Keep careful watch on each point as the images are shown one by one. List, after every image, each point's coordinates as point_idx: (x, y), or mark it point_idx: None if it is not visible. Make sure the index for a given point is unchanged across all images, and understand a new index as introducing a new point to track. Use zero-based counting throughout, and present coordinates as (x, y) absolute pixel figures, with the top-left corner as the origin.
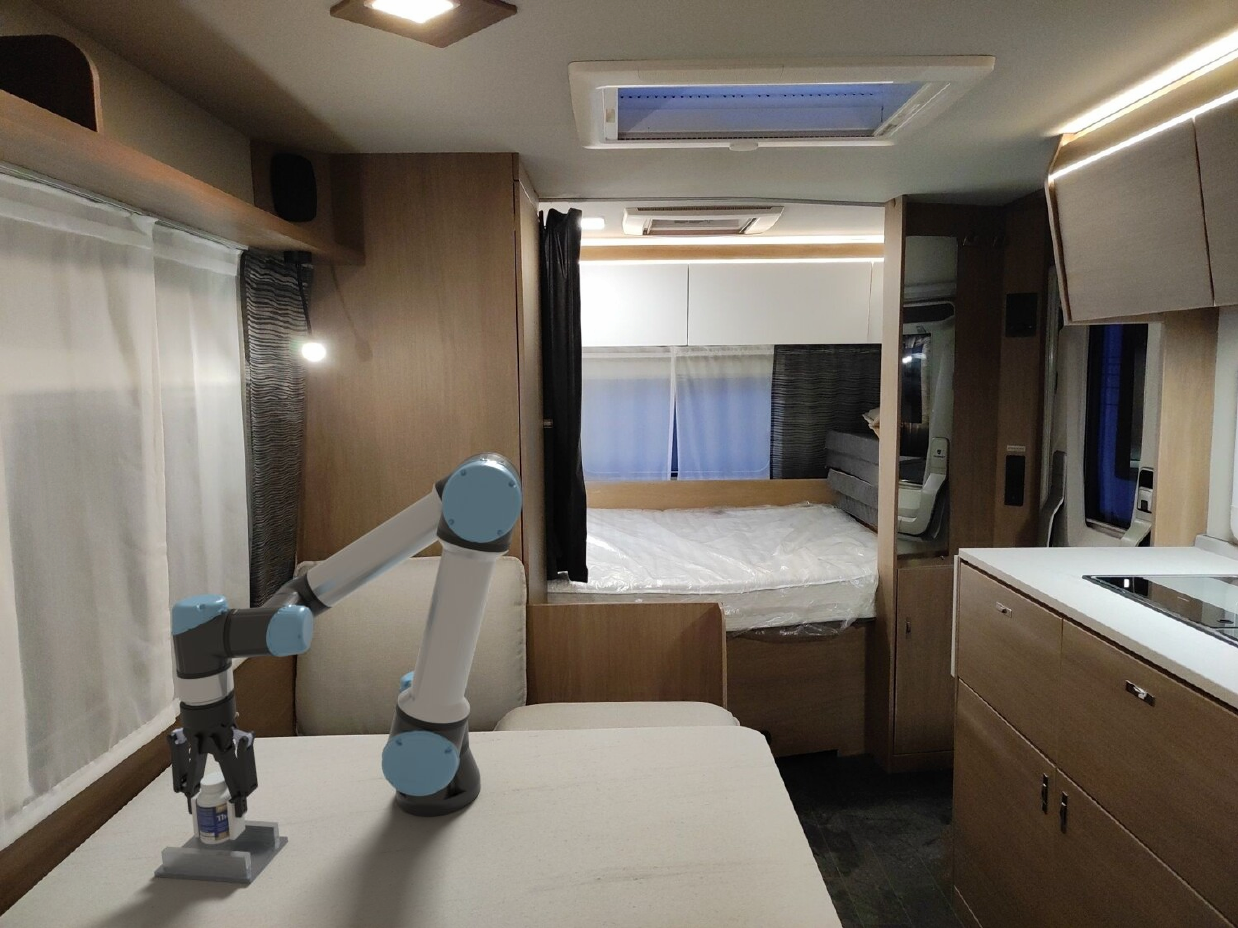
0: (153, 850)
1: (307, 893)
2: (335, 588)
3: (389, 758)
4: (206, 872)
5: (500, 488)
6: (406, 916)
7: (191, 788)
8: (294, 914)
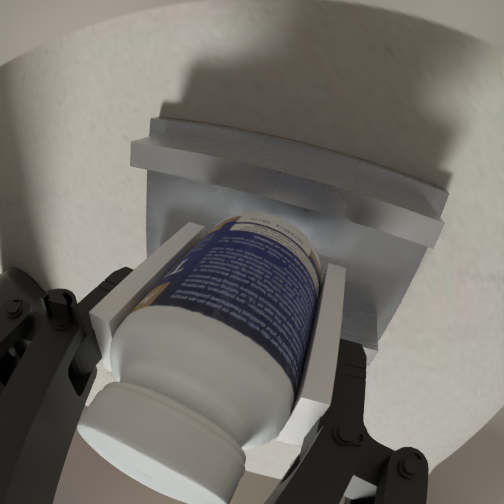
0: (469, 298)
1: (56, 97)
2: None
3: None
4: (286, 155)
5: None
6: None
7: (309, 463)
8: (57, 46)
